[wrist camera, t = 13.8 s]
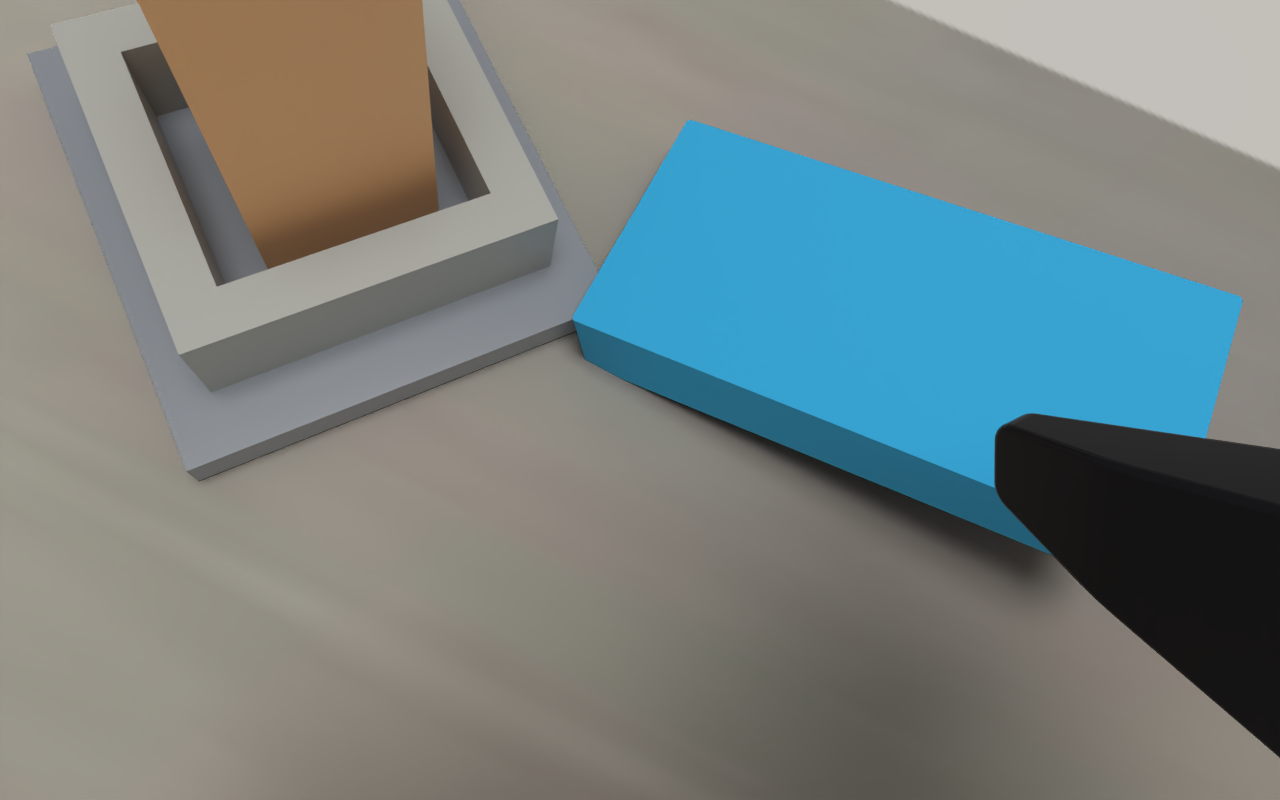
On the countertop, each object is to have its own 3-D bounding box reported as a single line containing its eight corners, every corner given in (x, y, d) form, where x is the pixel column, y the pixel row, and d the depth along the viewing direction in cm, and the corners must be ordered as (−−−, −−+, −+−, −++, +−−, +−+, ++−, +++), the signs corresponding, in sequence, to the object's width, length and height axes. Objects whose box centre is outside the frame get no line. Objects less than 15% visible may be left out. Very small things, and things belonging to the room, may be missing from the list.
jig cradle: (609, 317, 25) (629, 260, 22) (199, 481, 22) (150, 442, 19) (435, -25, 27) (429, -123, 24) (44, 78, 24) (-23, -18, 21)
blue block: (604, 430, 29) (1200, 685, 24) (570, 319, 23) (1366, 635, 18) (695, 261, 31) (1254, 465, 27) (688, 119, 25) (1418, 353, 20)
